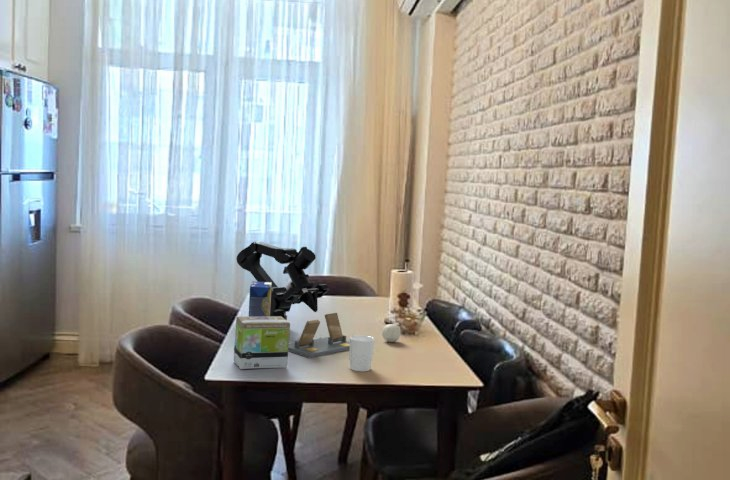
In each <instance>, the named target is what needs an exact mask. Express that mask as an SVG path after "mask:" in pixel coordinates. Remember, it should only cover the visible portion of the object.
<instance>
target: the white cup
mask: <svg viewBox="0 0 730 480" xmlns="http://www.w3.org/2000/svg"><path fill="white" fill-rule="evenodd" d="M349 342H350V349H349V350H348V351H349V357H348V358H349V369H350V370H352V371H355V372H368V371H371V370H372V369H371V368H372V361H373V355H374V349H375V347H374V345H375V338H374V337H373V336H369V335H363V334H356V335H350V336H349Z"/></svg>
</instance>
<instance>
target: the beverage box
mask: <svg viewBox="0 0 730 480" xmlns="http://www.w3.org/2000/svg"><path fill="white" fill-rule="evenodd" d="M271 289H272V282H257V281H254V280H253V281H251V283H250V286H249V298H248V317H260V316H270V308H271Z"/></svg>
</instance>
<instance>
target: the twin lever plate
mask: <svg viewBox="0 0 730 480" xmlns="http://www.w3.org/2000/svg"><path fill="white" fill-rule="evenodd" d="M342 335H343V337H342V338H343V341H338V342H333V338H331V337H330V336H325V337H320V338H315V339H314V338H313V340H312V343H311V344H310V345H307V346H301V347H300V342H299V341H294V342H293V343H292V342H291V343H289V345H288V352H289V353H293V354H297V355H299V356H302V357H304V358H305V357H306V358H307V359H308V358H309V359H311V358H316V357H319V356H325V355H330V354H334V353H335V354H336V353H339V352H344V351H349V349H350V340H347V335H344V334H342Z"/></svg>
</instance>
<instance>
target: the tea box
mask: <svg viewBox="0 0 730 480" xmlns="http://www.w3.org/2000/svg"><path fill="white" fill-rule="evenodd" d="M290 329H291V322H289V321H288V319H287V320H285V319H284V318H283V317H282V316H260V317H249V316H236V320H235V332H234V333H235V334H234V346H233V348H234V349H233V362H234V364H235V365H236V366H237V367H238V366H239V367H238V368H239V369H240V370H246V369H247V370H249V369H280V368H281V369H282V368H283V369H286V368H287V367H288V360H289V359H288V357H289V351H288V345H289V344H290V333H291V332H290V331H291V330H290Z"/></svg>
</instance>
